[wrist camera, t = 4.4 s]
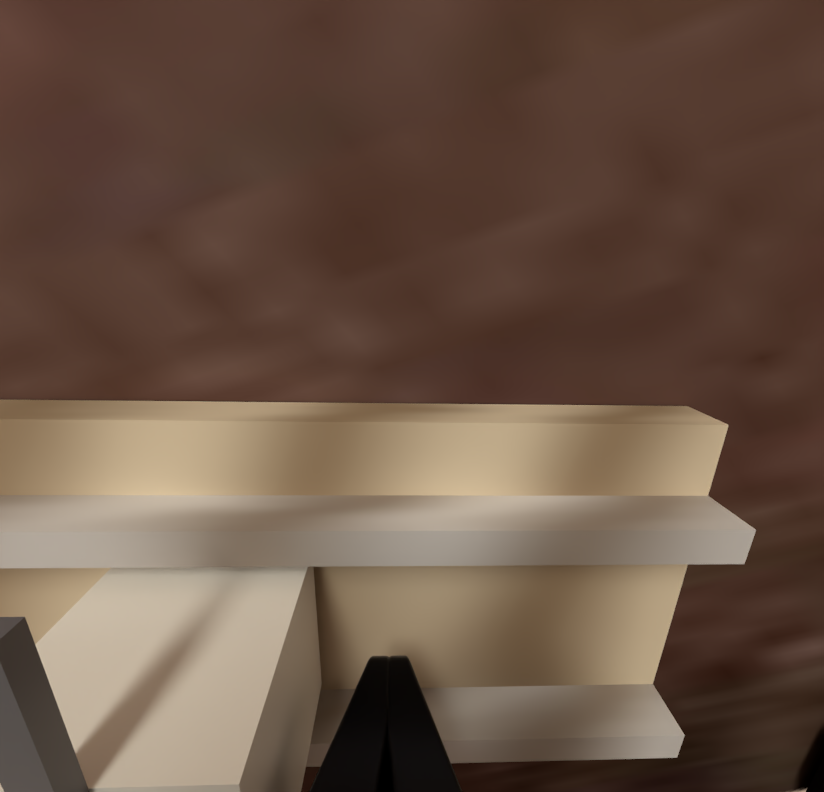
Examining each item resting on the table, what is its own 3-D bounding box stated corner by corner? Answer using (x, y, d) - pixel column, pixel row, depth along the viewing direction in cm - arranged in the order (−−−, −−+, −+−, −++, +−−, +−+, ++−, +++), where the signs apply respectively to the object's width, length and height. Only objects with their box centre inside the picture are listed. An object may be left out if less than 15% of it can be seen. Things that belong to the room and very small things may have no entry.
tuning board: (687, 405, 9) (783, 450, 7) (612, 702, 12) (662, 801, 10) (-99, 398, 8) (-285, 444, 6) (29, 713, 11) (-65, 822, 9)
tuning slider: (304, 444, 8) (191, 642, 3) (326, 752, 10) (278, 1065, 6) (98, 443, 7) (-275, 648, 3) (176, 756, 10) (26, 1079, 6)
